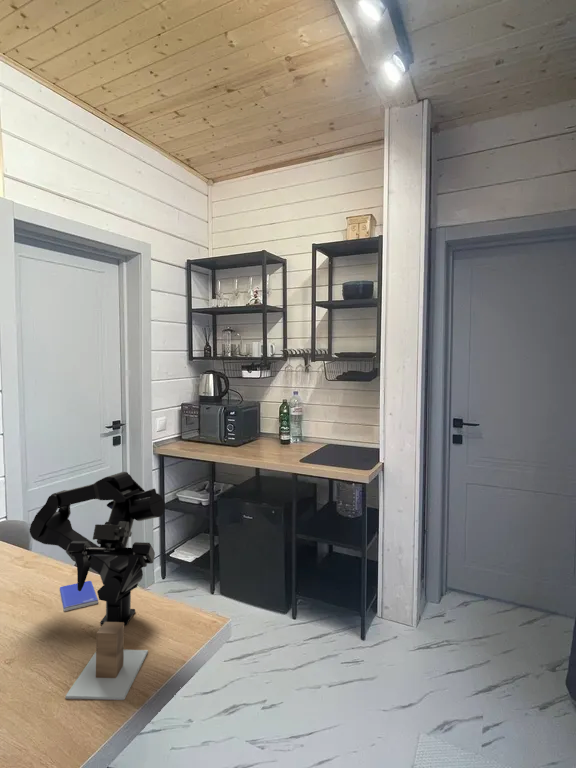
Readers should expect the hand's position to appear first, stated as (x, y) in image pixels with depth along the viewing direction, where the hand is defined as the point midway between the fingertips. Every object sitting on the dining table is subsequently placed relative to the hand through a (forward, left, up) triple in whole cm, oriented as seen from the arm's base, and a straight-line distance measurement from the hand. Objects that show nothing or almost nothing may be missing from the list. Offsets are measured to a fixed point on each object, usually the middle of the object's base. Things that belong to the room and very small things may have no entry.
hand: (100, 591), depth 95 cm
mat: (+7, +5, -14) cm, 16 cm away
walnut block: (+7, +5, -13) cm, 15 cm away
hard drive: (-23, -16, -14) cm, 32 cm away
